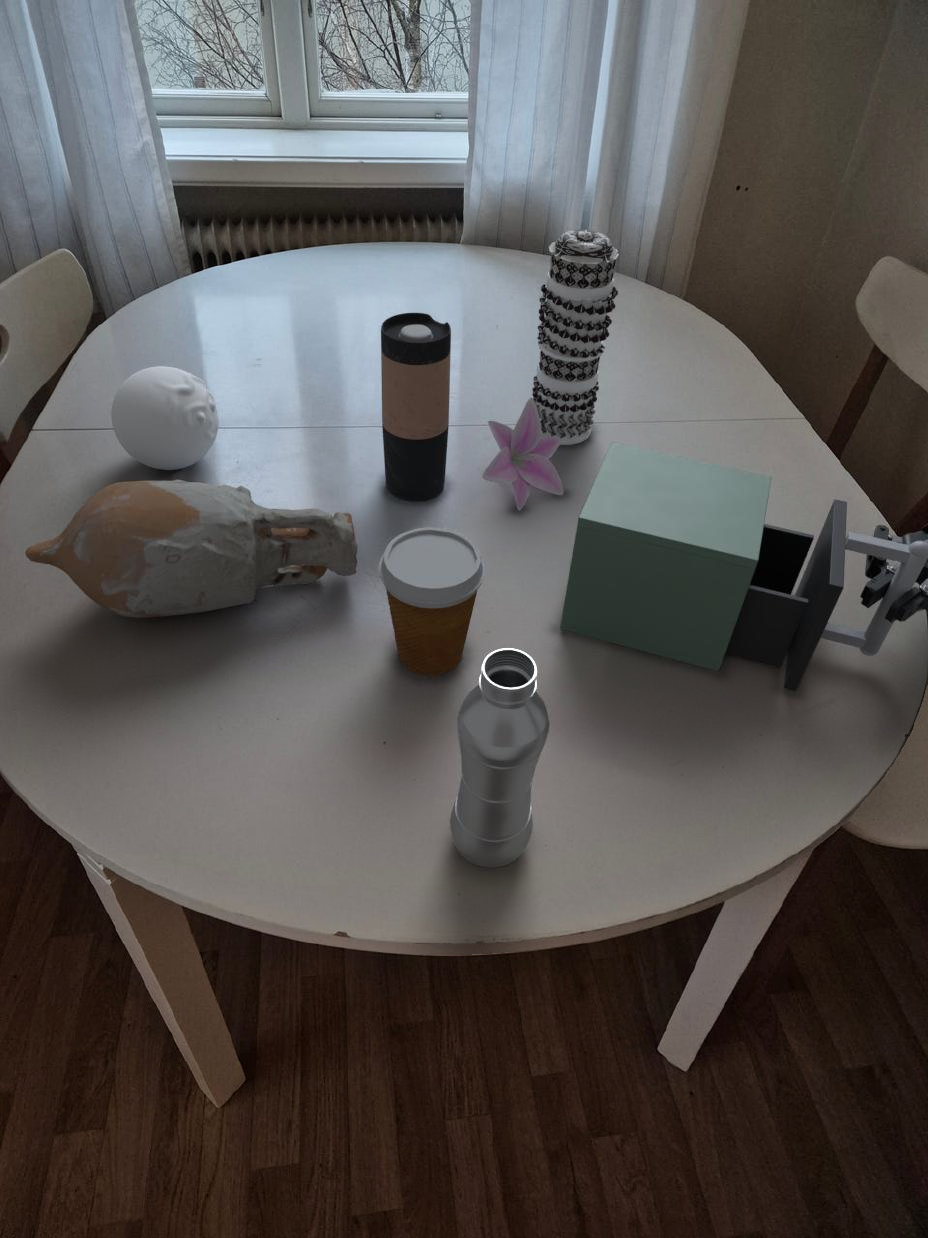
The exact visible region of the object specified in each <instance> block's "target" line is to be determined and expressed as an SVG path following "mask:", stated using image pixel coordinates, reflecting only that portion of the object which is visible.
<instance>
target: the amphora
mask: <svg viewBox="0 0 928 1238" xmlns="http://www.w3.org/2000/svg"><path fill="white" fill-rule="evenodd" d="M358 546H359V545H358V543H357V539H356V531H355V526H354V523H353V517H352V514H350V513H349V512H335V513H334V514H333V515H332V514H331V513H329V512H327V511H324V510H322V509H320V508H317V507H312V508H301V509H287V508H269V507H265V506H262V505H259V504H257V503H255V502H254V500H253V498H252V493H251V490H250V489H248V488H246V487H244V486H242V485H239V486H238V487H234V486H231V485H229V484H228V485H227V484H222V485H217V484H210V483H209V484H208V483H204V482H198V481H197V482H195V481H193V482H192V481H185V480H183V479H174V480H133V481H121V482H120V481H119V482H114V483H111V484H108V485H106V486H104V487H103V488H102V489H100V490H98V491H96V493H94V494H92V496H90V497H89V498H88V499H87V500H86V501H85V502H84V503H83V504H82V505H81V506H80V507H79V509H78V510H77V511H76V513H75V514H74V515H73V516H72V518H71V519H70V521H69V522H68V524H67V525H66V527H65V528H64V529H63V530H62V532H61V533H60V534H59V535H57V536H56V537H54V538H51V539H49V540H45V541H41V542H38V543H34V544H32V545H30V546H28V547H27V548H26V549H25V557H26V558H27V559H28V560H29V561H30V562H33V563H37V564H43V565H49V566H51V567H55V568H57V569H59V570H61V571H62V572H64V573H65V574H66V575H67V576H68V577H69V579H70V580H71V581H72V582H73V583H74V584H75V585H76V586H77V587H78V588H79V590H81V591H82V593H83V594H84V595H86V596H87V597H88V598H89V599H90V600H92V601H93V602H94V603H95V604H97V605H98V606H99V607H101V608H102V609H104V610H106V611H108V612H109V613H111V614H114V615H118V616H121V617H125V618H136V619H137V618H139V619H140V618H142V619H143V618H157V617H159V618H160V617H169V616H180V615H189V614H195V613H196V614H197V613H203V612H209V611H215V610H221V609H227V608H230V607H237V606H241V605H246V604H250V603H252V602H254V599H255V598H256V597H255V596H256V592H257V589H258V588H263V587H267V586H268V587H269V586H279V585H280V586H281V585H296V584H299V585H300V584H301V585H302V584H303V585H308V584H310V583H316V582H317V581H319V580H321V578H322V577H323V576H324V575H325V574H326V572H327V570H329V571H330V572H333V573H335V574H336V575H337V576H341V577H350V576H352V575H356V573H357V567H358V566H357V565H358V557H357V554H358Z"/></svg>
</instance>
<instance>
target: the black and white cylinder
mask: <svg viewBox="0 0 928 1238" xmlns="http://www.w3.org/2000/svg"><path fill="white" fill-rule="evenodd" d="M548 249H549V252H550V253H551V257H550V261H549V262H550V265H549V267H550V268H549V271H548V272H547V275H546V284H542V285H541V286H540V291H541V292H542V295H541V296H540V297H539V299H538V300H539V303H540V305H539V306H540V308H539V309H538V314H539V315H538V320H539V321H540V324H539V325H538V326H537V330H538V333H537V334H538V336H537V337H536V339H537V346H538V349H539V350H540V352H539V361H538V363H537V364H536V365H537V366H536V374H535V375H534V376H533V383H532V384H533V387H532V397H531V398H532V399H533V400H534V402H535V404H536V407H537V410H538V414H539V418H540V423H541V436H554V437H558V438H560V439H561V443H560V445H559V446H573V445H576V444H581V443H582V442H584V441H586V440H587V439H589V437H590V435H591V433H592V427H591V426H592V425H594V420H593V419H594V416H593V415H595V414H596V410H595V403H596V402H597V401H598V397H597V392H598V391H599V390H600V386H599V374H600V371H599V365H600V359H601V357H602V356H603V354H604V353H605V351H606V346H605V342H604V341H606V340H607V338H609V337H610V332H609V329H608V328H609V327H610V325H612V322H613V320H612V319H611V317H610V315H609V313H612V312H613V310H615V308H616V303H615V301H614V299H616V297H617V296H618V294H619V291H618V289H617V287H616V286H614V283H615V279H614V274H615V267H616V261H617V258H618V257H619V255H620V254H619V251H618V249H617V248H616V247H614V246H613V245H612V242H611V239H610V238H609V237H608V236H607V235H606V234H603V233H601V232H598V231H595V230H590V229H571V230H568V231H565V232H563V233H562V234H561V235H560V237H559V238H557V240H555V241H553V242H551V244H550V245H549V246H548Z"/></svg>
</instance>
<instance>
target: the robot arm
mask: <svg viewBox="0 0 928 1238" xmlns="http://www.w3.org/2000/svg"><path fill="white" fill-rule="evenodd" d="M871 537H875V538H879V539H884V540H888V541H893V542H897V543H901V544H906V545H911V544H912V543H913V542H916V541H923V542H926V543H927V544H928V523H927V524H925V525H924V526H922V527H921V528H920V529H919V530H918V531H916V532H909V533H905V534H904V535H902V536H898V535H894V534H890V528H889V527H887V526H886V525H883V524H877V525H876V526H875V529H874V531H873V533H872V534H871ZM887 560H888V559H885V558H881V557H876V556H872V555H868V554H866V559H865V570H864V575H865V577H867V579H869V580H867V582H866V583H865V585H864V587H863V588H862V591H861V594H860V596H859V597H860V598H861V599H862V600H861V602H860V604H861V605H862V606H863V607H866V608H867V609H870V608H871V607H872V606H873V605H875V604H876V603H878V602H879V601H882V599H883V597H884V595H885V593H886V591H887V589H888V587H889V585H890V583H891V581H892V579H893V577H894V575H895V573H896V571H897V569H898V567H899V565H900V563H901V562H898V561H893V562H891V563H889V562H888V561H887ZM915 583H916V584H918V585H919V587H915V586H913V587H912V589H911V590H909V591H908V592H906V593H905V594H904V595H902V596H901V597H899V598H898V599H897V600H895V601H894V602H893V603H892V605H891V606H890V608H889V610H888V612H887V614H886V616H885V619H886V620H888V621H889V622H891V623H893V622H894V623H895V621H898V622H900V623H901V622H905V621H907V620H908V619H909V618H911V617H913V616H914V615H915V614H916V613H917V612H918V613H919V612H923V611H928V559H927V561H926V562H925V564H924V566H923V568H922V570H921V572H920V574H919V576H918V578H917V579H916V581H915ZM894 623H893V624H894Z"/></svg>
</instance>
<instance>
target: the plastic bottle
mask: <svg viewBox="0 0 928 1238" xmlns="http://www.w3.org/2000/svg"><path fill="white" fill-rule="evenodd" d="M480 671H481V673H480V675H479V678H478V685H476V686H475V687H474V688H473V689H472V690H470V691H469V692H468V694H467V695H466V696H465V698H464V700H463V702H462V704H461V705H460V708H459V710H458V713H457V736H458V742H459V743H458V744H459V750H460V756H461V759H460V760H461V763H460V765H461V779H460V784H459V788H458V792H457V796H456V798H455V801H454V803H453V805H452V809H451V813H450V818H449V827H450V832H451V837H452V841H453V845H454V846H455V848H456V850H457V851H458V853H459V854H460V855H461V856H462V857H463V858H464V859H465V860H467V861H468V862H469V863H471V864H473V865H476V866H478V867H483V868H490V869H491V868H492V869H493V868H500V867H504V866H507V865H509V864H512V863H513V862H515V861H516V860H517V859H518V858H519V857H520V856H521V855H522V854H523V853H524V851H525V849H526V847H528V846H527V845H528V843H529V841H530V839H531V837H532V833H533V825H534V823H533V809H532V808H533V807H532V784H533V780H534V775H535V772H536V768H537V765H538V762H539V759H540V757H541V755H542V754H541V753H542V751H543V749H544V747H545V744H546V742H547V739H548V735H549V731H550V717H549V713H548V709H547V706H546V703H545V702H544V700H543V698H542V697H541V695H540V694H539V693H538V692H537V685H538V683H537V676H538V669H537V664H536V662H535V660H534V659H533V658H532V657H531V656H530V654H528V653H526V652H525V651H523V650H520V649H516V648H512V647H511V648H510V647H508V648H507V647H506V648H505V647H504V648H499V649H496V650H494V651H491V652H490V653H489V654H488V655H487V656H485V658H484V660H483V662H482V664H481V670H480Z"/></svg>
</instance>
